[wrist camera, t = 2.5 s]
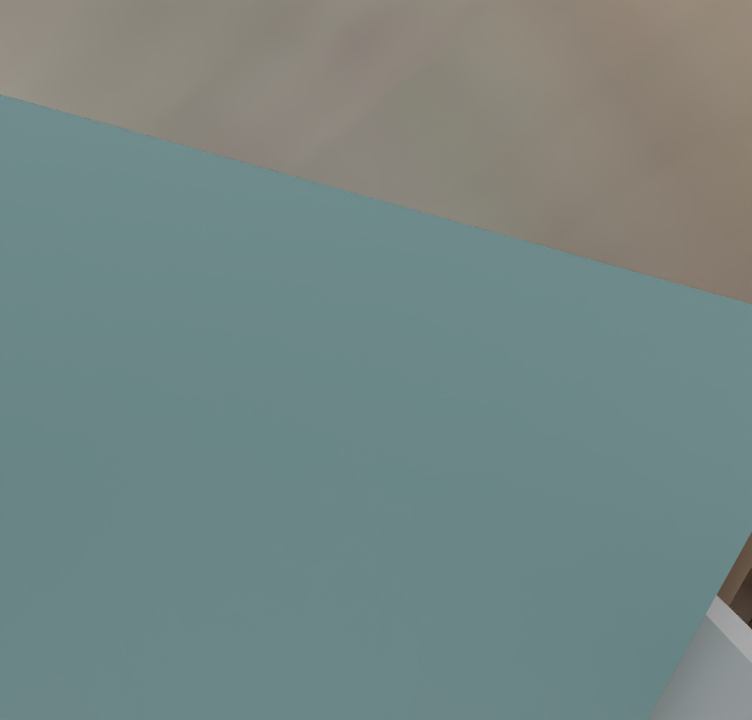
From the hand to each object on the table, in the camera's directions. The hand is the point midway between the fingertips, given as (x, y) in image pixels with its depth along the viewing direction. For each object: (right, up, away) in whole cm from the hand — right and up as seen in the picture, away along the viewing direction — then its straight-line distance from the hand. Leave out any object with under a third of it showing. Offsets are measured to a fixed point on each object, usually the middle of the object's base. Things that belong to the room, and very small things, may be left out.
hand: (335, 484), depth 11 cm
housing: (-1, +1, +3) cm, 3 cm away
